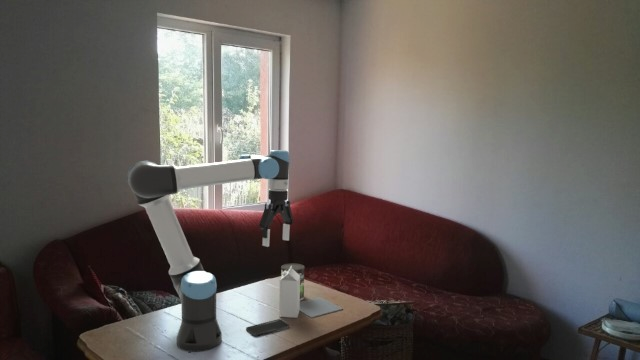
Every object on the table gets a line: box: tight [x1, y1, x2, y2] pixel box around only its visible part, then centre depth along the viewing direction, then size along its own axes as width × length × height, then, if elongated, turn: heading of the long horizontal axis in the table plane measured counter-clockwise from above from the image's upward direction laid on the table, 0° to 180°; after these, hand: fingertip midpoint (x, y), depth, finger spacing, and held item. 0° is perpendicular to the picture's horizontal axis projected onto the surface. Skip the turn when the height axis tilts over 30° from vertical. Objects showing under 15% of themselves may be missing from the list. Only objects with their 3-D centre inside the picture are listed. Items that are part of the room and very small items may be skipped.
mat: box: [299, 296, 344, 319], centre depth 197 cm, size 16×16×1 cm
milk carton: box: [279, 266, 301, 319], centre depth 188 cm, size 7×7×19 cm
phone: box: [245, 319, 290, 338], centre depth 176 cm, size 8×1×15 cm
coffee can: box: [280, 262, 306, 302], centre depth 207 cm, size 10×10×14 cm
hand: (276, 243), depth 187 cm, fingers open, 13 cm apart
